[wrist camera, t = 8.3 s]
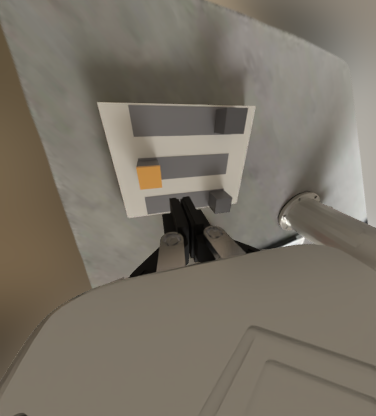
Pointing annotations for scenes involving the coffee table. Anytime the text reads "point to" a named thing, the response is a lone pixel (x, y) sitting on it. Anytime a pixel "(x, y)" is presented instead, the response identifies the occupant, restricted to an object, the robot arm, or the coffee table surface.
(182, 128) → the board
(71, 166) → the coffee table surface
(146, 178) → the block
